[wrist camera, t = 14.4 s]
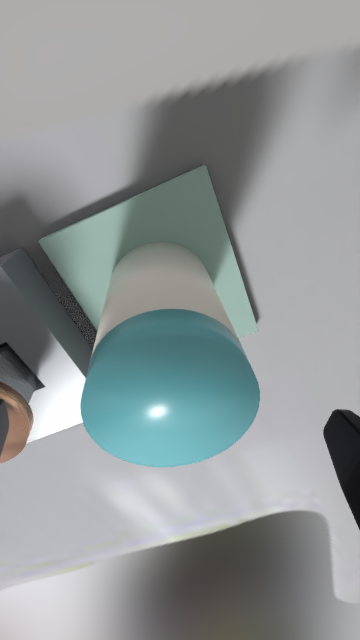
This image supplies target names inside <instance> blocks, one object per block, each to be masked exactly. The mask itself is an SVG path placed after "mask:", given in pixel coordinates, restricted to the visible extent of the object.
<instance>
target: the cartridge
mask: <svg viewBox="0 0 360 640" xmlns="http://www.w3.org/2000/svg"><path fill="white" fill-rule="evenodd" d="M259 401H260V390H259V385H258V382H257V379H256V377H255V374H254V372H253V370H252V368H251V365H250V363H249V361H248V359H247V357H246V355H245V352H244V350H243V348H242V346H241V344H240V342H239V339H238V337H237V335H236V333H235V331H234V329H233V326H232V324H231V322H230V320H229V318H228V316H227V313H226V311H225V309H224V307H223V305H222V302H221V300H220V298H219V296H218V294H217V292H216V289H215V287H214V285H213V283H212V281H211V279H210V276H209V274H208V272H207V270H206V268H205V266H204V264H203V263H202V261H201V260H200V259H199V258H198V257H197V256H196V255H195V254H194V253H193V252H192V251H190V250H189V249H187V248H185V247H183V246H181V245H178V244H175V243H171V242H162V241H160V242H150V243H146V244H143V245H140V246H138V247H136V248H134V249H132V250H131V251H129V252H128V253H127V254H125V255H124V256H123V257H122V258H121V260H120V261H119V262H118V263H117V265H116V266H115V269H114V271H113V273H112V276H111V280H110V284H109V288H108V292H107V296H106V300H105V304H104V308H103V312H102V316H101V320H100V324H99V328H98V332H97V336H96V340H95V344H94V348H93V352H92V356H91V360H90V364H89V368H88V372H87V376H86V380H85V384H84V388H83V392H82V396H81V403H80V410H81V417H82V421H83V424H84V426H85V428H86V431H87V432H88V434H89V435H90V437H91V438H92V439H93V440H94V441H95V442H96V443H97V444H98V445H99V446H100V447H101V448H102V449H104V450H105V451H107V452H108V453H110V454H111V455H113V456H115V457H117V458H119V459H122V460H125V461H127V462H130V463H134V464H138V465H144V466H151V467H174V466H182V465H188V464H192V463H196V462H200V461H202V460H205V459H208V458H210V457H213V456H215V455H217V454H219V453H221V452H222V451H224V450H226V449H227V448H229V447H230V446H231V445H233V444H234V443H235V442H236V441H238V440H239V439H240V438H241V437H242V436H243V435H244V434H245V432H246V431H247V430H248V429H249V427H250V426H251V424H252V422H253V420H254V419H255V417H256V414H257V411H258V408H259Z"/></svg>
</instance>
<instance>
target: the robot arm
mask: <svg viewBox="0 0 360 640" xmlns="http://www.w3.org/2000/svg"><path fill="white" fill-rule="evenodd" d="M8 431H9V417H8V412H7V406H6V402H5V400H3V399H0V457H1V454H2V450H3V447H4V444H5V441H6V437H7V434H8ZM323 434H324V438H325V441H326V444H327V447H328V450H329V453H330V456H331V459H332V462H333V465H334V468H335V471H336V474H337V477H338V480H339V483H340V485H341V488H342V491H343V493H344V495H345V498H346V500H347V502H348V505H349V507H350V509H351V511H352V514H353V516H354V518H355V520H356V523H357V525H358V527H359V530H360V417H359V416H357V415H356V414H355V413H353V412H352V411H350V410H342V409H337V410H334V411H333V412H332V414H331V416H330V418H329V419H328V421H327V423H326V425H325V427H324V430H323Z"/></svg>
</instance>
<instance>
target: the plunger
mask: <svg viewBox="0 0 360 640" xmlns="http://www.w3.org/2000/svg"><path fill="white" fill-rule="evenodd" d="M38 381H39V379H38V377H37V376H36V375H35V374H34V373H33V372H32V371H31V369H30V368H29V367H28V366H27V365H26V364H25V363H24V361H23V360H22V359H21V358H20V357H19V356H18V355H17V353H16V352H15V351H14V350H13V349H12V348H11V346H10V345H9V344H8V343H7V342H5V343H2V344H0V399H3V400H5V402H6V406H7V412H8V417H9V431H8V434H7V437H6V441H5V444H4V447H3V450H2V454H1V457H0V463H3V462H5V461H8V460H10V459H12V458H13V457H15V456H16V455H18V454H19V453H20V452H21V451H22V450H23V448H24V447H25V445H26V442H27V439H28V437H29V434H30V432H31V429H32V426H33V421H34V419H33V412H32V409H31V407H30V405H29V402H30V400H31V397H32V395H33V393H34V390H35V388H36V386H37V383H38Z"/></svg>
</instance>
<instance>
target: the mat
mask: <svg viewBox="0 0 360 640" xmlns="http://www.w3.org/2000/svg"><path fill="white" fill-rule="evenodd" d="M160 241H162V242H171V243H175V244H178V245H181V246H183V247H185V248H187V249H189V250H190V251H192V252H193V253H194V254H195V255H196V256H197V257H198V258H199V259H200V260H201V261H202V263H203V264H204V266H205V268H206V270H207V272H208V274H209V276H210V279H211V281H212V283H213V285H214V287H215V289H216V292H217V294H218V296H219V298H220V300H221V302H222V305H223V307H224V309H225V311H226V313H227V316H228V318H229V320H230V322H231V324H232V326H233V329H234V331H235V333H236V335H237V337H238V338H241V337H244V336H246V335H249V334H251V333H254V332H257V331H258V327H257V324H256V321H255V318H254V315H253V312H252V309H251V305H250V302H249V299H248V296H247V293H246V290H245V286H244V283H243V280H242V277H241V274H240V271H239V268H238V264H237V261H236V258H235V255H234V252H233V249H232V246H231V242H230V239H229V236H228V233H227V230H226V227H225V223H224V220H223V217H222V214H221V211H220V208H219V205H218V201H217V198H216V195H215V192H214V189H213V186H212V183H211V179H210V176H209V173H208V170H207V167H206V165H202V166H200V167H198V168H196V169H193V170H191V171H189V172H187V173H184V174H182V175H180V176H178V177H176V178H173V179H171V180H169V181H167V182H165V183H162V184H160V185H158V186H156V187H153V188H151V189H149V190H147V191H145V192H142V193H140V194H138V195H136V196H134V197H131V198H129V199H127V200H125V201H122V202H120V203H118V204H116V205H114V206H111V207H109V208H107V209H105V210H103V211H100V212H98V213H96V214H94V215H91V216H89V217H87V218H85V219H83V220H80V221H78V222H76V223H74V224H72V225H69V226H67V227H65V228H63V229H60V230H58V231H56V232H54V233H52V234H49V235H47V236H45V237H43V238H41V239H40V240H39V241H38V243H39V244H40V246H41V247H42V249H43V250H44V252H45V253H46V255H47V256H48V258H49V259H50V261H51V262H52V264H53V265H54V267H55V268H56V270H57V271H58V273H59V274H60V276H61V277H62V279H63V280H64V282H65V283H66V285H67V286H68V288H69V289H70V291H71V293H72V294H73V296H74V297H75V299H76V300H77V302H78V303H79V305H80V306H81V308H82V309H83V311H84V312H85V314H86V315H87V317H88V318H89V320H90V321H91V323H92V324H93V326H94V327H95V329H96V330H97V332H98V328H99V324H100V320H101V316H102V312H103V308H104V304H105V300H106V296H107V292H108V288H109V284H110V280H111V276H112V273H113V271H114V269H115V266H116V265H117V263H118V262H119V261H120V260H121V258H122V257H123V256H124V255H125V254H127V253H128V252H129V251H131V250H132V249H134V248H136V247H138V246H140V245H143V244H146V243H150V242H160Z"/></svg>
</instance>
